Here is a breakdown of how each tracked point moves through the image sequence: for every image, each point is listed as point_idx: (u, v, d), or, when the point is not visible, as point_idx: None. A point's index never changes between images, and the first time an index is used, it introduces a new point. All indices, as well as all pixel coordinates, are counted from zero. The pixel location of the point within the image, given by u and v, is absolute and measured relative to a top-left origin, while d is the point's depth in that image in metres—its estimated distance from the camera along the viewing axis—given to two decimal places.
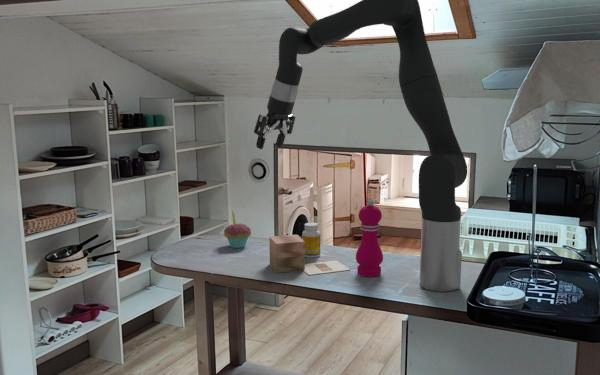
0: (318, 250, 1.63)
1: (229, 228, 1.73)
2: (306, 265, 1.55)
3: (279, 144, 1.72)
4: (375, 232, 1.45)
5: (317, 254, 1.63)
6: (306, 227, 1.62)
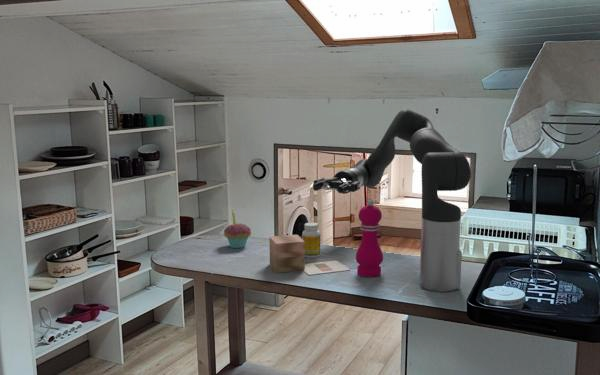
0: (318, 250, 1.63)
1: (229, 228, 1.73)
2: (306, 265, 1.55)
3: None
4: (375, 232, 1.45)
5: (317, 254, 1.63)
6: (306, 227, 1.62)
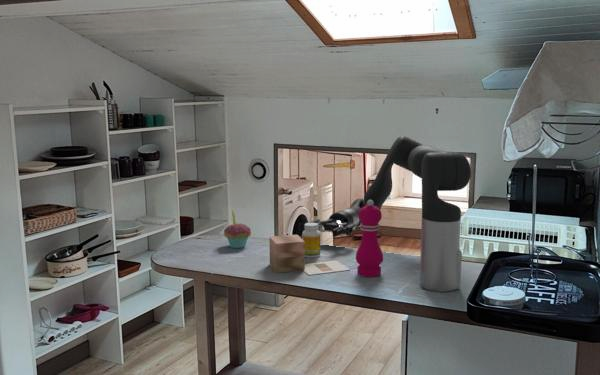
0: (318, 250, 1.63)
1: (229, 228, 1.73)
2: (306, 265, 1.55)
3: None
4: (375, 232, 1.45)
5: (317, 254, 1.63)
6: (306, 227, 1.62)
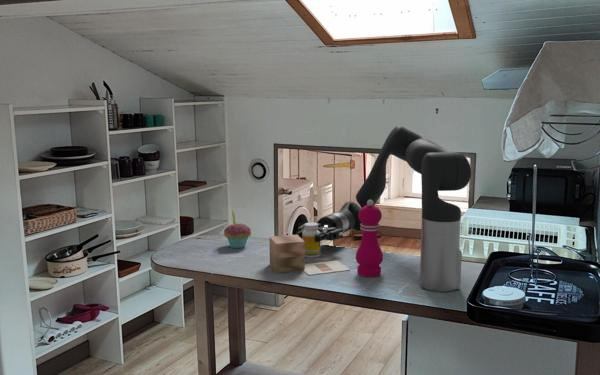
0: (318, 250, 1.63)
1: (229, 228, 1.73)
2: (306, 265, 1.55)
3: None
4: (375, 232, 1.45)
5: (317, 254, 1.63)
6: (306, 227, 1.62)
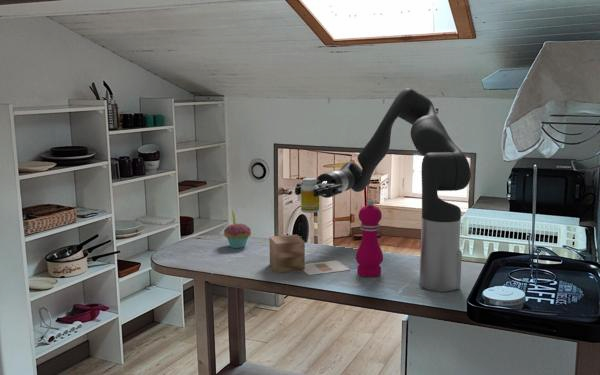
0: (317, 205, 1.60)
1: (229, 228, 1.73)
2: (306, 265, 1.55)
3: None
4: (375, 232, 1.45)
5: (316, 209, 1.60)
6: (304, 181, 1.59)
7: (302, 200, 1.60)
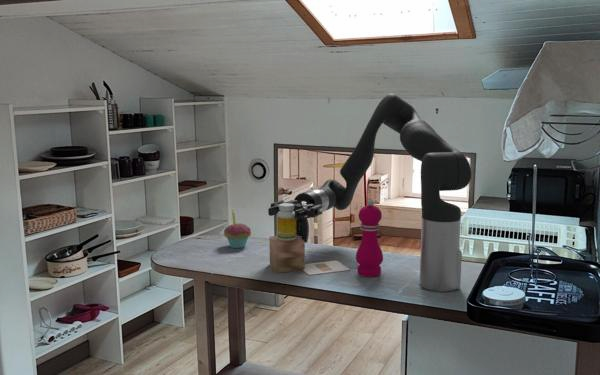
0: (294, 233, 1.51)
1: (229, 228, 1.73)
2: (306, 265, 1.55)
3: None
4: (375, 232, 1.45)
5: (293, 237, 1.51)
6: (281, 208, 1.50)
7: (278, 227, 1.51)
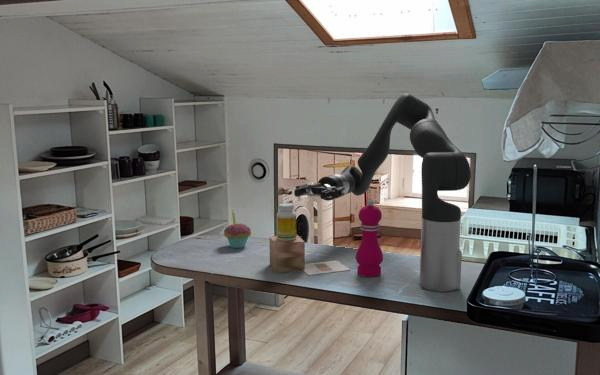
0: (294, 233, 1.51)
1: (229, 228, 1.73)
2: (306, 265, 1.55)
3: None
4: (375, 232, 1.45)
5: (293, 237, 1.51)
6: (280, 208, 1.50)
7: (278, 227, 1.51)
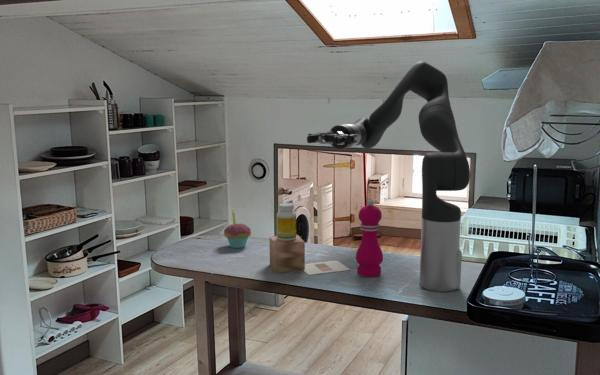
0: (294, 233, 1.51)
1: (229, 228, 1.73)
2: (306, 265, 1.55)
3: None
4: (375, 232, 1.45)
5: (293, 237, 1.51)
6: (280, 208, 1.50)
7: (278, 227, 1.51)
